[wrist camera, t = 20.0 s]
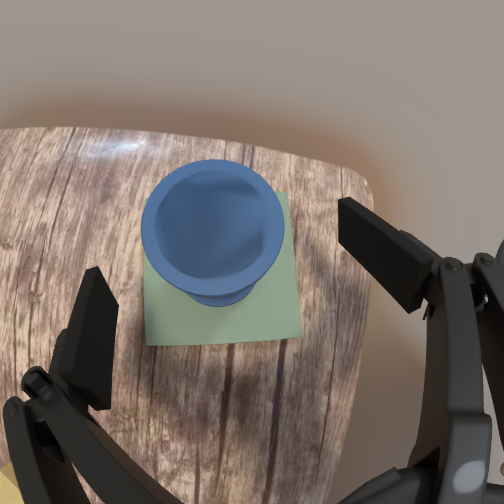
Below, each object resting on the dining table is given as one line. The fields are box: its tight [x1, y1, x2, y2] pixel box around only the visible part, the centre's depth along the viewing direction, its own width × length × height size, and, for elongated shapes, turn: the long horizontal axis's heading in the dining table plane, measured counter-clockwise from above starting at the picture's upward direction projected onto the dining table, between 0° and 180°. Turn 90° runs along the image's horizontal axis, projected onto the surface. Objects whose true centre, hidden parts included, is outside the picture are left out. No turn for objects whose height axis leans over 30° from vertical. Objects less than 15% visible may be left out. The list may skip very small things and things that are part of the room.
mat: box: [143, 192, 302, 346], centre depth 22 cm, size 12×12×1 cm
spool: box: [141, 159, 285, 307], centre depth 17 cm, size 6×6×10 cm
